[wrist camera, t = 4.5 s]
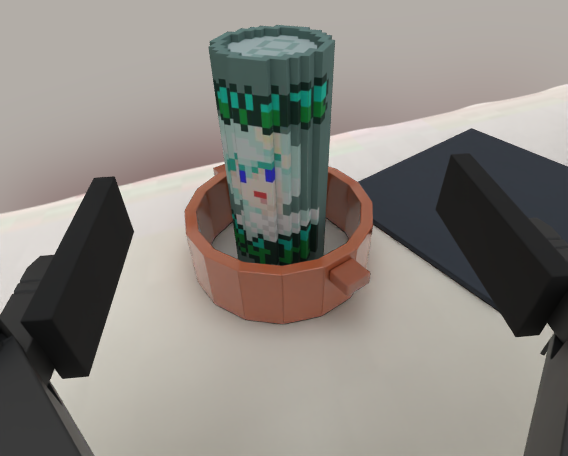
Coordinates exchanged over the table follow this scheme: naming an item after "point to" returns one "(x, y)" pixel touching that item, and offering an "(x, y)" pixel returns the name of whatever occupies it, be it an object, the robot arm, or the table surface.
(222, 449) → the table surface
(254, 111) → the can
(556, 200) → the mat
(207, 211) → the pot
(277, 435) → the table surface
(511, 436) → the table surface
